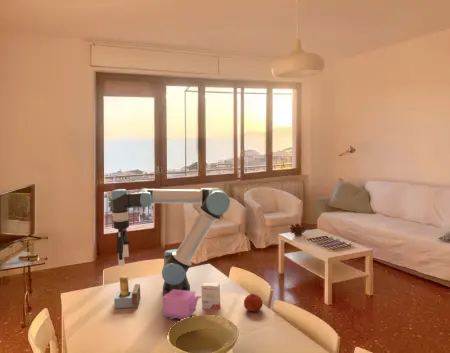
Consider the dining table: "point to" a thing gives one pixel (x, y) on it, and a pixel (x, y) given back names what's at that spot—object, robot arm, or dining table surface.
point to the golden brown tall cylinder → (124, 286)
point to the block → (123, 300)
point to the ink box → (210, 295)
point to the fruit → (253, 302)
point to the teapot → (179, 304)
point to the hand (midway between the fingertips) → (124, 261)
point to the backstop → (136, 296)
